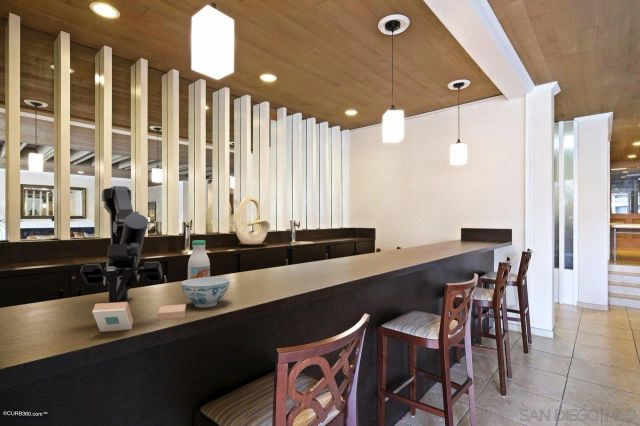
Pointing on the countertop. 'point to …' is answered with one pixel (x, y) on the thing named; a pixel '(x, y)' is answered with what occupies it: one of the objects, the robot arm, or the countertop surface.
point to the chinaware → (205, 290)
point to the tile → (113, 316)
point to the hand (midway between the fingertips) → (115, 300)
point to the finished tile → (172, 312)
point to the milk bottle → (198, 261)
